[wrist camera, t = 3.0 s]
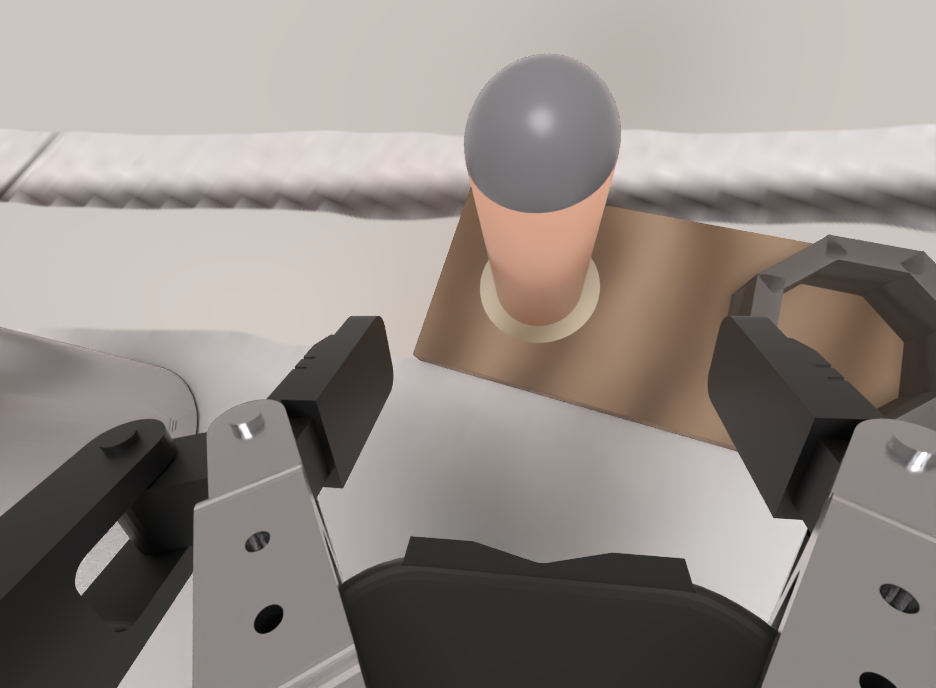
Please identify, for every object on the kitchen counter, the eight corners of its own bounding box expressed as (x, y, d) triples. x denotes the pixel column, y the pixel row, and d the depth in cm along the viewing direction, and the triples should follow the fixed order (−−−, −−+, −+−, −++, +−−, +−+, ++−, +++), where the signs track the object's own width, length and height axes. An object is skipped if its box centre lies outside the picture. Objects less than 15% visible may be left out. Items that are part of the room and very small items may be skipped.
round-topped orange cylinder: (486, 314, 26) (427, 144, 12) (509, 239, 27) (480, 3, 13) (570, 335, 25) (612, 176, 11) (591, 256, 26) (655, 18, 12)
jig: (419, 359, 27) (397, 341, 23) (476, 194, 30) (465, 149, 25) (947, 511, 21) (1052, 524, 17) (964, 287, 24) (1059, 249, 19)
